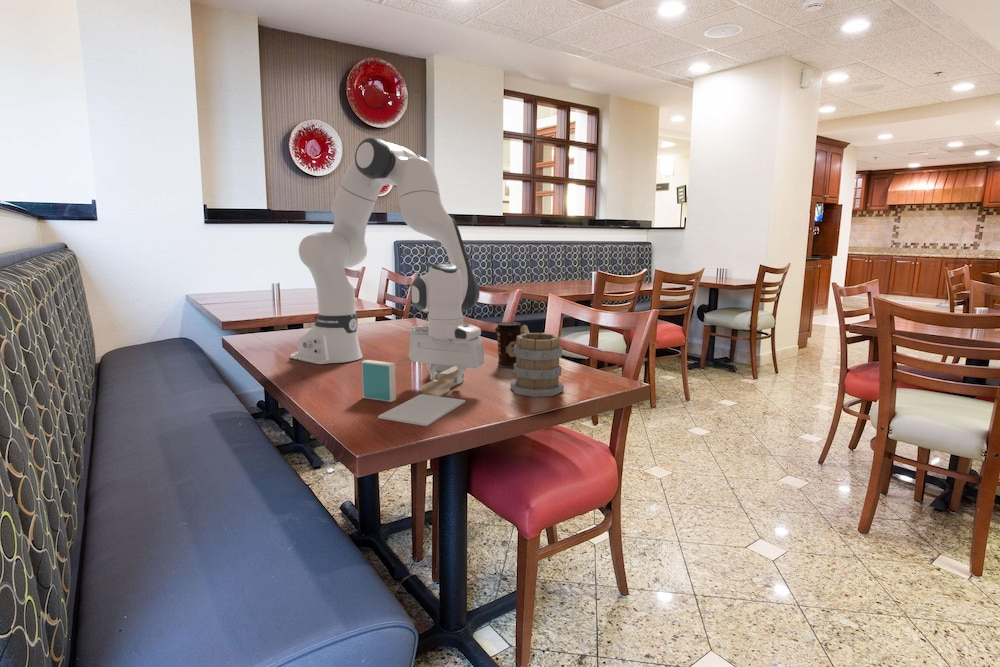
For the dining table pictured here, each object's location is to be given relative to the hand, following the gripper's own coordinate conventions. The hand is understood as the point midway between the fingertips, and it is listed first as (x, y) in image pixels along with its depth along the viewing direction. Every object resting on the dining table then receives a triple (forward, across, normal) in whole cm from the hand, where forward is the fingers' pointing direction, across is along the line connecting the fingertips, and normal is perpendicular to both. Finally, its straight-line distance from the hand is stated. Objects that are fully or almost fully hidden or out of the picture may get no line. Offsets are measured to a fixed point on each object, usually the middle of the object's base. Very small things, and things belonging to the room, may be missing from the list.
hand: (445, 381), depth 142 cm
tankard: (+2, +20, +11) cm, 23 cm away
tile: (-3, -10, -15) cm, 18 cm away
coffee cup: (+2, +6, +29) cm, 30 cm away
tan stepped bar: (+2, 0, 0) cm, 2 cm away
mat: (+2, +4, -18) cm, 19 cm away
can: (+2, -8, +15) cm, 17 cm away
